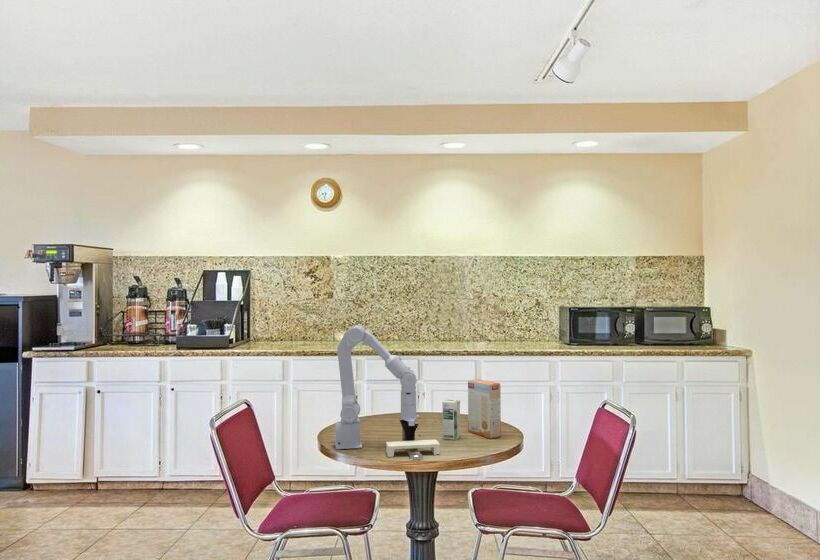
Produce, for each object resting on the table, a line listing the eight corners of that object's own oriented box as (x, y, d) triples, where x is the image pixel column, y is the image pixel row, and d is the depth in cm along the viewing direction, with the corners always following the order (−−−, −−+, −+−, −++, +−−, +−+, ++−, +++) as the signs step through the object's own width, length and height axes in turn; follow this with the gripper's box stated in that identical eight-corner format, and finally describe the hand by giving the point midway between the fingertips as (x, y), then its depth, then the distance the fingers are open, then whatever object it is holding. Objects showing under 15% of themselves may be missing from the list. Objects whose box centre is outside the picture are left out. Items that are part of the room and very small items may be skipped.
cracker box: (501, 437, 214) (501, 383, 215) (489, 439, 211) (489, 384, 212) (479, 429, 227) (479, 378, 227) (467, 431, 223) (467, 379, 224)
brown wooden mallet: (408, 456, 189) (408, 439, 189) (402, 444, 204) (402, 428, 204) (420, 456, 190) (420, 438, 190) (413, 444, 205) (413, 427, 205)
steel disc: (410, 461, 185) (410, 457, 185) (408, 457, 189) (408, 453, 189) (423, 460, 185) (423, 456, 186) (421, 456, 190) (421, 452, 190)
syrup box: (442, 439, 212) (441, 401, 212) (446, 435, 218) (446, 398, 218) (456, 440, 210) (456, 402, 210) (460, 436, 216) (460, 399, 216)
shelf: (388, 457, 189) (388, 446, 189) (386, 452, 195) (386, 441, 195) (439, 454, 192) (439, 444, 192) (436, 449, 198) (436, 439, 198)
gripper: (422, 407, 196) (423, 446, 196) (415, 399, 211) (416, 435, 210) (403, 408, 195) (403, 447, 195) (397, 400, 210) (397, 436, 209)
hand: (408, 441), depth 203 cm, fingers closed on brown wooden mallet, 4 cm apart
